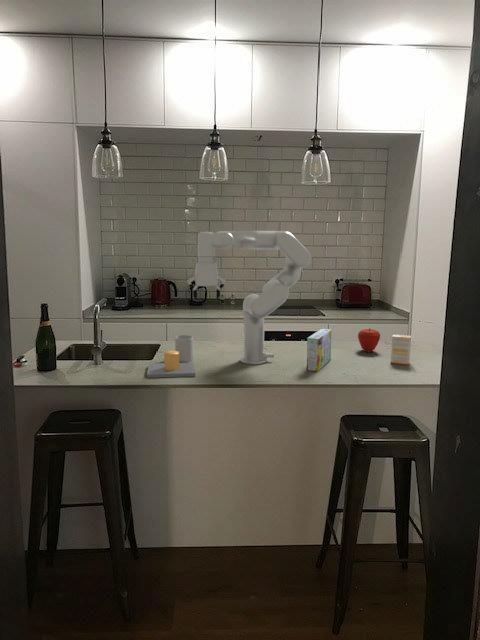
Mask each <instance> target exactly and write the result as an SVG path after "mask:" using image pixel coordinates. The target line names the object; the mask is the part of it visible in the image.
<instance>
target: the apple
mask: <svg viewBox="0 0 480 640" xmlns="http://www.w3.org/2000/svg"><path fill="white" fill-rule="evenodd" d="M357 338H358V339H357V340H358V342H359V343H358V344H360V347H361V349H362V350H363V351H364V352H368V353H370V352H371V353H372V352H373V351H374V350H375V349H376V348H377V346H378V344H379V342H380V339H381V333H380V331H378V330H376V329H372V328H365V329H360V331H359V332H358V335H357Z"/></svg>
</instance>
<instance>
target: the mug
mask: <svg viewBox="0 0 480 640" xmlns="http://www.w3.org/2000/svg"><path fill="white" fill-rule="evenodd" d="M174 341H175V342H174V346H175V347H174V349H175V350H174V351H178V352H179V363H191V362H193V361H194V336H192V335H188V334H187V335H185V334H183V335H181V334H180V335H176V336H175V338H174ZM192 360H193V361H192Z"/></svg>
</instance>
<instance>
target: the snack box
mask: <svg viewBox="0 0 480 640" xmlns="http://www.w3.org/2000/svg"><path fill="white" fill-rule="evenodd" d="M331 360H332V329H330V328H329V329H328V328H320V329H319V330H317V331H316V332H314V333H313V334H311V335H310V336H308V337H307V338H306V371H311V372H319V371H320V370H322V368H323V367H324V366H325V365H327V364H328V363H329V362H330V361H331Z"/></svg>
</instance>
